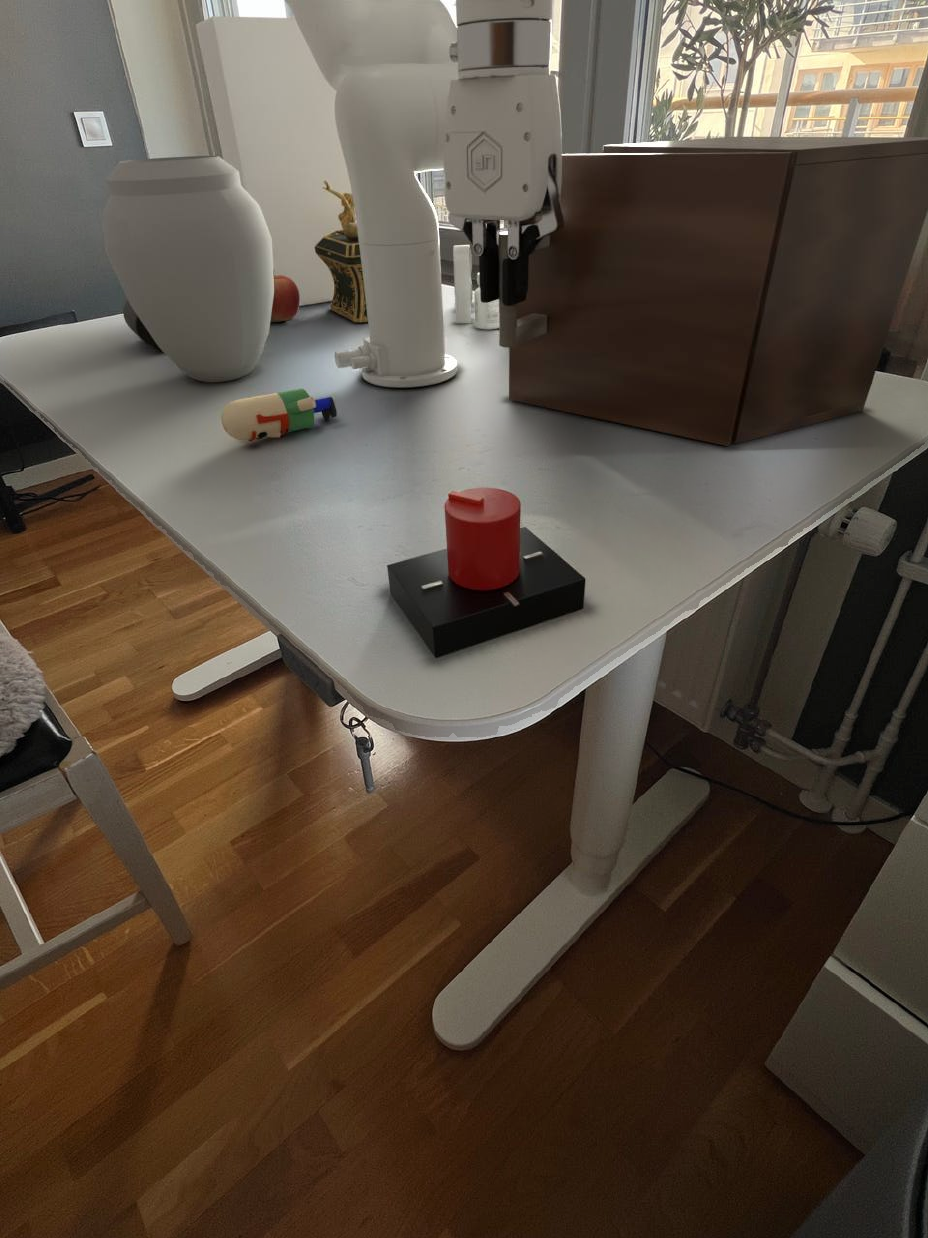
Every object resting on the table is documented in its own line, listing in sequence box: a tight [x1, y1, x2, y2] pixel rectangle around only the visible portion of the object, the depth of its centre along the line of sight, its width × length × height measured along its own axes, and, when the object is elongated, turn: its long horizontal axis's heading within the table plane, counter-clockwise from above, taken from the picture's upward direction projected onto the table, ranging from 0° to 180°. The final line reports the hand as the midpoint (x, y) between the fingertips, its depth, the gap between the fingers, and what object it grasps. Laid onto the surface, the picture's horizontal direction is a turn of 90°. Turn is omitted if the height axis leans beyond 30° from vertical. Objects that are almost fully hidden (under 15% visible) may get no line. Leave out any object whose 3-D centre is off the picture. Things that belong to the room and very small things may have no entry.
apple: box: [270, 269, 300, 323], centre depth 113 cm, size 8×8×8 cm
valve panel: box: [386, 526, 587, 659], centre depth 46 cm, size 11×9×3 cm
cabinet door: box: [498, 152, 792, 447], centre depth 63 cm, size 8×26×24 cm, turn 52°
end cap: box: [122, 299, 164, 353], centre depth 103 cm, size 10×7×7 cm
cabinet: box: [602, 136, 928, 445], centre depth 72 cm, size 18×26×24 cm
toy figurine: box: [220, 388, 338, 442], centre depth 72 cm, size 8×4×12 cm
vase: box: [101, 155, 274, 383], centre depth 85 cm, size 20×20×24 cm
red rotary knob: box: [443, 486, 522, 591], centre depth 44 cm, size 5×5×5 cm
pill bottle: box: [473, 272, 499, 331], centre depth 105 cm, size 4×4×8 cm
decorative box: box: [315, 181, 368, 324], centre depth 110 cm, size 20×10×20 cm, turn 29°
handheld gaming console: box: [452, 244, 474, 324], centre depth 113 cm, size 11×3×15 cm
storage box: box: [195, 16, 356, 307], centre depth 118 cm, size 21×10×40 cm, turn 121°
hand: (503, 299), depth 65 cm, fingers closed on cabinet door, 2 cm apart
